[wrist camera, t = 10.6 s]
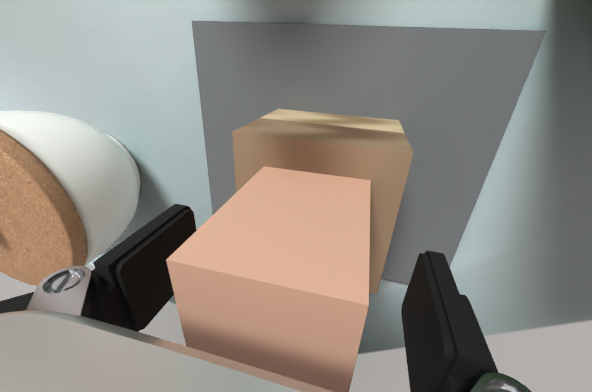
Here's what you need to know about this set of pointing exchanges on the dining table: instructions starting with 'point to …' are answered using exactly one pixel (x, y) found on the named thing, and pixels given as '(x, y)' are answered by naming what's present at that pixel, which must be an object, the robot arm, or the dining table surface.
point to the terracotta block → (281, 276)
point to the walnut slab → (333, 166)
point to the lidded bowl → (60, 193)
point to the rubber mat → (374, 106)
